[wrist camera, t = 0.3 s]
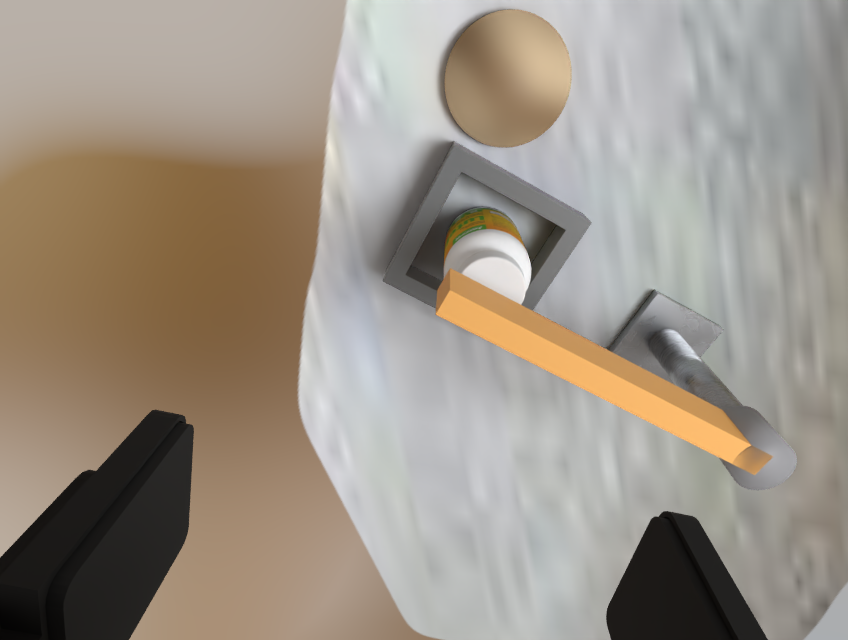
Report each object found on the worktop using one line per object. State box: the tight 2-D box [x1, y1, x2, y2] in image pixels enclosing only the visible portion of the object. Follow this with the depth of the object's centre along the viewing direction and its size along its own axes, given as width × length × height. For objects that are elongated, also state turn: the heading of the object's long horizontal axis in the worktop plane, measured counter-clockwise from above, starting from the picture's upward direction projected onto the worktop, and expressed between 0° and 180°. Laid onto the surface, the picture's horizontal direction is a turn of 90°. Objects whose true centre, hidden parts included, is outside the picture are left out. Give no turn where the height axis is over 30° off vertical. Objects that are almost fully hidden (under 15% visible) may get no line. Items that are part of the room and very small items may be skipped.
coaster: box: [444, 10, 571, 147], centre depth 35 cm, size 8×8×1 cm
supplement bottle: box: [444, 207, 531, 305], centre depth 35 cm, size 5×5×10 cm
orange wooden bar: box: [436, 268, 797, 490], centre depth 28 cm, size 21×3×3 cm, turn 62°
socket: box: [383, 142, 591, 311], centre depth 38 cm, size 10×10×2 cm
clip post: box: [609, 290, 743, 410], centre depth 37 cm, size 6×6×12 cm
